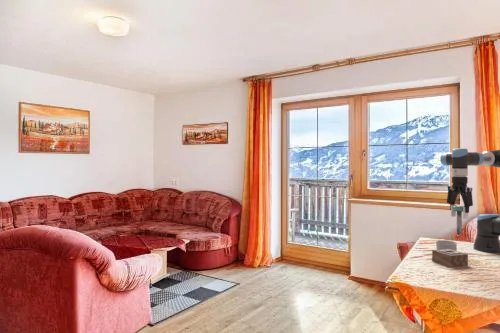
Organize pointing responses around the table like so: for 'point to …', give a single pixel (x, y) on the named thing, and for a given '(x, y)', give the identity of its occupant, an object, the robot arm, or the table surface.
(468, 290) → the table surface
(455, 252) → the block
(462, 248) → the table surface
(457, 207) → the teal rounded knob
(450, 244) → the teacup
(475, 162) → the robot arm
